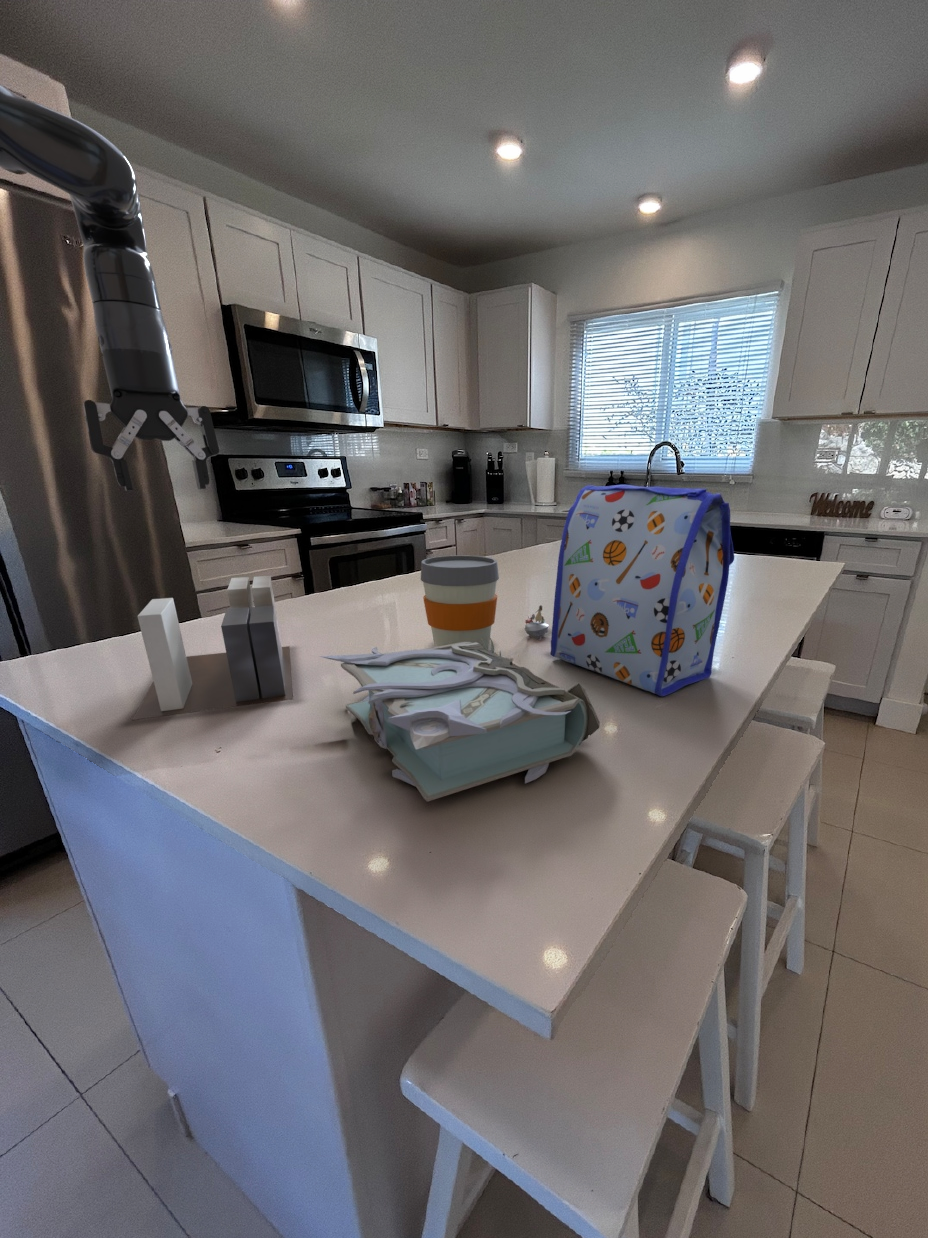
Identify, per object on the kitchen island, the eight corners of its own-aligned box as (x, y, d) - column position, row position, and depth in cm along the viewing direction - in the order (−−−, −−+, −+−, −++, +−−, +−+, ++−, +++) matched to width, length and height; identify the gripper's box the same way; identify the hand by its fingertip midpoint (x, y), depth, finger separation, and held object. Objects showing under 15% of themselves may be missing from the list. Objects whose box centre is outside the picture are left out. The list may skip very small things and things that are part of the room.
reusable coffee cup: (409, 653, 94) (402, 562, 88) (456, 636, 104) (453, 552, 98) (468, 668, 87) (466, 570, 82) (513, 647, 97) (514, 559, 92)
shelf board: (134, 729, 67) (104, 621, 62) (167, 665, 88) (147, 581, 83) (295, 707, 73) (279, 607, 68) (290, 653, 94) (278, 573, 89)
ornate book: (609, 769, 61) (475, 676, 84) (618, 687, 57) (474, 613, 80) (414, 838, 49) (320, 708, 72) (408, 742, 46) (311, 637, 69)
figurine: (539, 642, 100) (540, 609, 98) (518, 638, 102) (518, 606, 100) (553, 635, 104) (554, 603, 102) (533, 631, 106) (533, 600, 104)
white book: (161, 711, 69) (137, 615, 64) (172, 686, 77) (151, 599, 72) (183, 708, 70) (161, 614, 65) (192, 683, 77) (173, 597, 73)
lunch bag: (726, 673, 86) (755, 486, 76) (666, 702, 75) (690, 490, 65) (607, 640, 101) (617, 482, 91) (543, 661, 91) (547, 484, 81)
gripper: (195, 361, 77) (218, 488, 83) (64, 349, 69) (100, 490, 75) (206, 353, 71) (230, 490, 77) (66, 339, 63) (104, 492, 69)
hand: (166, 490), depth 76 cm, fingers open, 8 cm apart
